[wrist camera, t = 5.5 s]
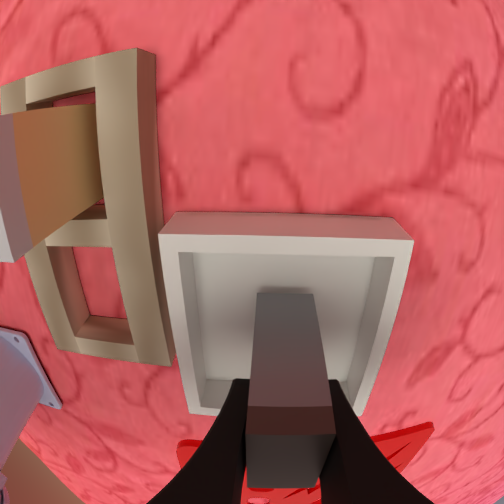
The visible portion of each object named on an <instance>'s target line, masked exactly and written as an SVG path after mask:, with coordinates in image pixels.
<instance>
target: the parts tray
mask: <svg viewBox="0 0 504 504" xmlns="http://www.w3.org/2000/svg"><path fill="white" fill-rule="evenodd" d="M158 239H159V247H160V255H161V262H162V270H163V277H164V284H165V290H166V297H167V303H168V309H169V315H170V321H171V327H172V332H173V338H174V343H175V348H176V354H177V359H178V364H179V369H180V373H181V378H182V383H183V388H184V392H185V397H186V401H187V405H188V410H189V413H190V414H200V415H211V416H218V414H219V412H220V410H221V408H222V406H223V404H224V402H225V400H226V398H227V395H228V393H229V390H230V387H231V384H232V380H234V379H235V378H241V379H250V374H251V361H252V349H253V336H254V324H255V311H256V298H257V293H294V294H313V296H314V301H315V306H316V312H317V317H318V322H319V328H320V334H321V339H322V345H323V351H324V357H325V363H326V369H327V375H328V379H337V380H338V381H339V383H340V385H341V388H342V390H343V392H344V394H345V396H346V398H347V400H348V401H349V403H350V405H351V407H352V409H353V411H354V412H355V414H356V416H362V413H363V411H364V409H365V406H366V404H367V401H368V398H369V396H370V393H371V391H372V388H373V385H374V382H375V380H376V377H377V374H378V371H379V368H380V366H381V363H382V360H383V357H384V354H385V351H386V348H387V344H388V341H389V338H390V335H391V332H392V328H393V325H394V321H395V318H396V314H397V311H398V307H399V304H400V300H401V296H402V292H403V288H404V284H405V280H406V276H407V272H408V267H409V263H410V259H411V254H412V249H413V244H414V240H413V238H412V237H411V236H410V235H409V234H408V233H407V232H406V231H405V230H404V229H403V228H402V227H401V226H400V225H399V224H398V223H397V222H396V220H395V219H394V218H392V217H373V216H352V215H328V214H299V213H259V212H175V214H174V215H173V216H172V217H171V218H170V220H169V221H168V222H167V223H166V225H165V226H164V227H163V228H162V230H161V231H160V232H159V233H158Z"/></svg>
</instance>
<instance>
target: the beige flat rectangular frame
mask: <svg viewBox="0 0 504 504" xmlns="http://www.w3.org/2000/svg"><path fill="white" fill-rule="evenodd" d="M90 92H95V93H96V118H97V134H98V147H99V158H100V168H101V177H102V186H103V193H104V201H105V205H92V206H90V207H89V208H87V209H86V210H85V211H83V212H82V213H80V214H79V215H77V216H76V217H74V218H73V219H71V220H70V221H69V222H67V223H66V224H64V225H63V226H62V227H60V228H59V229H57V230H56V231H55V232H53V233H52V234H51V235H49V236H48V237H47V238H45V239H44V240H42V241H41V242H40V243H39V244H37V245H36V246H35V247H33V248H32V249H31V250H29V251H28V252H27V253H26V254H24V255H25V259H26V263H27V266H28V269H29V273H30V276H31V279H32V282H33V285H34V288H35V291H36V294H37V297H38V300H39V303H40V306H41V309H42V311H43V314H44V317H45V319H46V322H47V324H48V327H49V330H50V332H51V334H52V337H53V339H54V342H55V344H56V346H57V349H60V350H65V351H70V352H75V353H80V354H86V355H91V356H97V357H103V358H109V359H115V360H122V361H129V362H136V363H144V364H152V365H161V366H170V367H171V366H172V363H173V360H174V357H175V354H176V348H175V343H174V338H173V332H172V327H171V321H170V315H169V309H168V303H167V297H166V290H165V284H164V277H163V270H162V262H161V255H160V247H159V239H158V233H159V232H160V231H161V230H162V228H163V227H164V219H163V209H162V197H161V185H160V172H159V157H158V139H157V116H156V55H155V54H152V53H150V52H147V51H144V50H142V49H139V48H133V49H127V50H122V51H117V52H112V53H107V54H103V55H99V56H94V57H90V58H86V59H82V60H79V61H75V62H71V63H68V64H64V65H61V66H57V67H54V68H51V69H48V70H45V71H42V72H39V73H36V74H33V75H30V76H27V77H24V78H22V79H19V80H16V81H14V82H11V83H9V84H6V85H4V86H1V87H0V99H1V115H5V114H10V113H16V112H23V111H29V110H36V109H44V108H52V107H53V101H55V100H59V99H63V98H68V97H72V96H76V95H81V94H86V93H90ZM72 246H75V247H112V250H113V256H114V261H115V266H116V271H117V276H118V280H119V285H120V290H121V294H122V298H123V303H124V307H125V311H126V315H127V319H119V318H110V317H101V316H93V315H90V314H89V311H88V307H87V304H86V300H85V297H84V294H83V290H82V286H81V283H80V279H79V275H78V271H77V267H76V263H75V259H74V255H73V250H72Z"/></svg>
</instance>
